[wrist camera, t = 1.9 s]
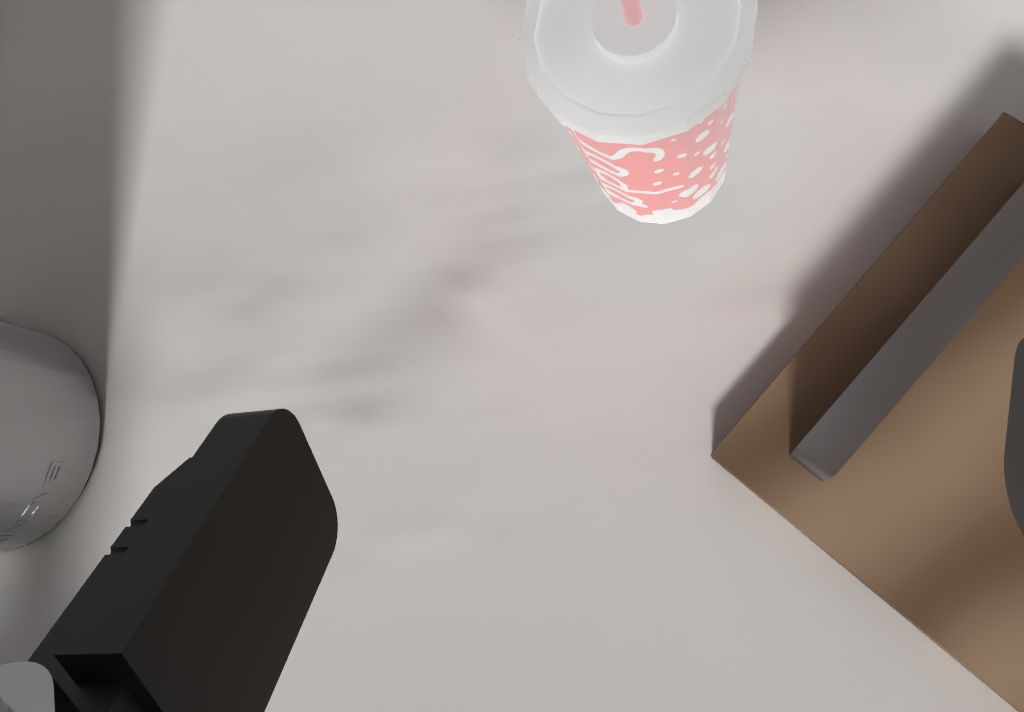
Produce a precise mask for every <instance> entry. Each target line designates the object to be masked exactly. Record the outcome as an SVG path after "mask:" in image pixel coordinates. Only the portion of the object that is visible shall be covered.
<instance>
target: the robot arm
mask: <svg viewBox="0 0 1024 712" xmlns="http://www.w3.org/2000/svg"><path fill="white" fill-rule="evenodd" d="M99 430H100V416H99V406H98V398H97V395H96V392H95V388H94V385H93V382H92V378H91V377H90V375H89V373H88V371H87V369H86V368H85V366H84V364H83V362H82V361H81V359H80V358H79V357H78V356H77V355H76V354H75V353H74V352H73V351H72V350H71V349H70V348H69V347H68V346H67V345H65V344H64V343H62V342H61V341H59V340H58V339H56V338H54V337H53V336H50V335H47V334H44V333H40V332H37V331H34V330H30V329H27V328H23V327H19V326H16V325H12V324H8V323H5V322H1V321H0V552H2V551H10V550H14V549H16V548H19V547H22V546H24V545H27V544H30V543H32V542H33V541H35V540H36V539H38V538H39V537H41V536H43V535H44V534H46V533H47V532H49V531H50V530H51V529H52V528H53V527H54V526H55V525H56V524H57V523H58V522H59V521H60V520H61V519H62V518H63V517H64V516H65V515H66V514H67V513H68V512H69V510H70V509H71V507H72V506H73V504H74V503H75V502H76V500H77V499H78V497H79V496H80V494H81V493H82V490H83V488H84V486H85V484H86V482H87V480H88V478H89V475H90V473H91V471H92V467H93V464H94V460H95V456H96V453H97V449H98V441H99ZM1004 476H1005V484H1006V490H1007V495H1008V499H1009V503H1010V506H1011V509H1012V512H1013V515H1014V517H1015V519H1016V522H1017V524H1018V526H1019V528H1020V530H1021V532H1022V534H1023V536H1024V338H1023V339H1022V340H1021V341H1020V342H1019V344H1018V346H1017V349H1016V353H1015V359H1014V367H1013V376H1012V386H1011V395H1010V404H1009V414H1008V423H1007V433H1006V442H1005V451H1004ZM130 521H131V526H130V527H125V528H124V530H123V531H122V533H121V534H120V535H119V537H118V538H117V539H116V541H115V542H114V543H113V545H112V546H111V554H110V555H105V556H104V557H103V559H102V560H101V561H100V563H99V564H98V565H97V567H96V568H95V570H94V571H93V572H92V574H91V575H90V576H89V578H88V579H87V581H86V582H85V583H84V585H83V586H82V587H81V589H80V590H79V592H78V593H77V594H76V596H75V597H74V598H73V600H72V601H71V602H70V604H69V605H68V607H67V608H66V609H65V611H64V612H63V613H62V615H61V616H60V618H59V619H58V620H57V622H56V623H55V624H54V626H53V627H52V629H51V630H50V631H49V633H48V634H47V635H46V637H45V638H44V640H43V641H42V642H41V644H40V645H39V646H38V648H37V649H36V651H35V652H34V653H33V655H32V656H31V657H30V659H29V660H28V661H19V662H11V663H6V664H2V665H0V712H264V711H265V709H266V707H267V704H268V702H269V700H270V698H271V695H272V693H273V691H274V688H275V686H276V684H277V681H278V679H279V677H280V674H281V672H282V670H283V667H284V665H285V663H286V661H287V658H288V656H289V654H290V651H291V649H292V647H293V644H294V642H295V640H296V637H297V635H298V633H299V630H300V628H301V626H302V624H303V621H304V619H305V617H306V614H307V612H308V610H309V607H310V605H311V603H312V600H313V598H314V596H315V593H316V591H317V589H318V586H319V584H320V582H321V580H322V577H323V575H324V573H325V570H326V568H327V566H328V563H329V561H330V559H331V556H332V554H333V551H334V549H335V545H336V540H337V531H338V521H337V513H336V508H335V504H334V501H333V498H332V496H331V494H330V491H329V489H328V487H327V485H326V482H325V480H324V478H323V476H322V473H321V471H320V469H319V467H318V464H317V462H316V460H315V458H314V455H313V453H312V451H311V449H310V446H309V444H308V442H307V440H306V437H305V435H304V433H303V431H302V428H301V426H300V424H299V422H298V420H297V419H296V417H295V416H294V415H293V414H292V413H291V412H290V411H288V410H286V409H275V410H265V411H254V412H244V413H234V414H227V415H225V416H223V417H222V418H220V419H219V421H218V422H217V423H216V424H215V426H214V427H213V429H212V430H211V432H210V433H209V434H208V436H207V437H206V439H205V440H204V441H203V443H202V444H201V446H200V447H199V449H198V450H197V451H196V453H195V454H194V456H193V457H192V458H189V459H188V460H186V461H185V462H184V463H183V464H182V465H180V466H179V467H178V468H177V469H176V470H175V471H173V472H172V473H171V474H170V475H169V476H167V477H166V478H165V479H164V480H163V481H161V482H160V483H159V484H158V485H157V486H155V487H154V489H153V490H152V491H151V493H150V494H149V495H148V497H147V498H146V500H145V501H144V502H143V504H142V505H141V506H140V508H139V509H138V511H137V512H136V513H135V515H134V516H133V517H132V519H131V520H130Z"/></svg>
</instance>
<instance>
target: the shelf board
mask: <svg viewBox="0 0 1024 712" xmlns="http://www.w3.org/2000/svg"><path fill="white" fill-rule="evenodd" d="M1023 338H1024V123H1022V122H1021V121H1019V120H1017V119H1016V118H1014V117H1012V116H1010V115H1009V114H1007V113H1005V112H1004V113H1003V114H1002V115H1001V116H1000V117H999V119H998V120H997V121H996V122H995V123H994V124H993V126H992V127H991V128H990V129H989V130H988V131H987V133H986V134H985V135H984V136H983V137H982V138H981V140H980V141H979V142H978V143H977V144H976V145H975V147H974V148H973V149H972V150H971V151H970V152H969V154H968V155H967V156H966V157H965V158H964V159H963V161H962V162H961V163H960V164H959V165H958V166H957V168H956V169H955V170H954V171H953V172H952V173H951V175H950V176H949V177H948V178H947V179H946V180H945V182H944V183H943V184H942V185H941V186H940V187H939V189H938V190H937V191H936V192H935V193H934V194H933V196H932V197H931V198H930V199H929V200H928V201H927V203H926V204H925V205H924V206H923V207H922V208H921V210H920V211H919V212H918V213H917V214H916V215H915V217H914V218H913V219H912V220H911V221H910V222H909V224H908V225H907V226H906V227H905V228H904V229H903V231H902V232H901V233H900V234H899V235H898V236H897V238H896V239H895V240H894V241H893V242H892V243H891V245H890V246H889V247H888V248H887V249H886V250H885V252H884V253H883V254H882V255H881V256H880V257H879V259H878V260H877V261H876V262H875V263H874V264H873V266H872V267H871V268H870V269H869V270H868V271H867V273H866V274H865V275H864V276H863V277H862V278H861V280H860V281H859V282H858V283H857V284H856V285H855V287H854V288H853V289H852V290H851V291H850V292H849V294H848V295H847V296H846V297H845V298H844V299H843V301H842V302H841V303H840V304H839V305H838V306H837V308H836V309H835V310H834V311H833V312H832V313H831V315H830V316H829V317H828V318H827V319H826V320H825V322H824V323H823V324H822V325H821V326H820V327H819V329H818V330H817V331H816V332H815V333H814V334H813V336H812V337H811V338H810V339H809V340H808V341H807V343H806V344H805V345H804V346H803V347H802V348H801V350H800V351H799V352H798V353H797V354H796V355H795V357H794V358H793V359H792V360H791V361H790V362H789V363H788V365H787V366H786V367H785V368H784V369H783V370H782V372H781V373H780V374H779V375H778V376H777V377H776V379H775V380H774V381H773V382H772V383H771V384H770V386H769V387H768V388H767V389H766V390H765V391H764V393H763V394H762V395H761V396H760V397H759V398H758V400H757V401H756V402H755V403H754V404H753V405H752V407H751V408H750V409H749V410H748V411H747V412H746V414H745V415H744V416H743V417H742V418H741V419H740V421H739V422H738V423H737V424H736V425H735V426H734V428H733V429H732V430H731V431H730V432H729V433H728V435H727V436H726V437H725V438H724V439H723V440H722V442H721V443H720V444H719V445H718V446H717V447H716V449H715V450H714V451H713V452H712V453H711V457H712V458H713V459H714V460H715V461H716V462H717V463H719V464H720V465H721V466H722V467H723V468H725V469H726V470H727V471H728V472H729V473H731V474H732V475H733V476H734V477H736V478H737V479H738V480H739V481H740V482H742V483H743V484H744V485H745V486H746V487H748V488H749V489H750V490H751V491H752V492H754V493H755V494H756V495H757V496H758V497H760V498H761V499H762V500H763V501H765V502H766V503H767V504H768V505H769V506H771V507H772V508H773V509H774V510H775V511H777V512H778V513H779V514H780V515H781V516H783V517H784V518H785V519H786V520H787V521H789V522H790V523H791V524H792V525H794V526H795V527H796V528H797V529H798V530H800V531H801V532H802V533H803V534H804V535H806V536H807V537H808V538H809V539H810V540H812V541H813V542H814V543H815V544H816V545H818V546H819V547H820V548H821V549H822V550H824V551H825V552H826V553H827V554H829V555H830V556H831V557H832V558H833V559H835V560H836V561H837V562H838V563H839V564H841V565H842V566H843V567H844V568H845V569H847V570H848V571H849V572H850V573H851V574H853V575H854V576H855V577H856V578H858V579H859V580H860V581H861V582H862V583H864V584H865V585H866V586H867V587H868V588H870V589H871V590H872V591H873V592H874V593H876V594H877V595H878V596H879V597H880V598H882V599H883V600H884V601H885V602H887V603H888V604H889V605H890V606H891V607H893V608H894V609H895V610H896V611H897V612H899V613H900V614H901V615H902V616H903V617H905V618H906V619H907V620H908V621H909V622H911V623H912V624H913V625H914V626H916V627H917V628H918V629H919V630H920V631H922V632H923V633H924V634H925V635H926V636H928V637H929V638H930V639H931V640H932V641H934V642H935V643H936V644H937V645H938V646H940V647H941V648H942V649H943V650H945V651H946V652H947V653H948V654H949V655H951V656H952V657H953V658H954V659H955V660H957V661H958V662H959V663H960V664H961V665H963V666H964V667H965V668H966V669H967V670H969V671H970V672H971V673H972V674H974V675H975V676H976V677H977V678H978V679H980V680H981V681H982V682H983V683H984V684H986V685H987V686H988V687H989V688H990V689H992V690H993V691H994V692H995V693H996V694H998V695H999V696H1000V697H1001V698H1003V699H1004V700H1005V701H1006V702H1007V703H1009V704H1010V705H1011V706H1012V707H1013V708H1015V709H1016V710H1017V711H1018V712H1024V536H1023V534H1022V532H1021V530H1020V528H1019V526H1018V524H1017V522H1016V519H1015V517H1014V515H1013V512H1012V509H1011V506H1010V503H1009V499H1008V495H1007V490H1006V484H1005V476H1004V451H1005V442H1006V433H1007V423H1008V414H1009V404H1010V395H1011V386H1012V376H1013V367H1014V359H1015V353H1016V349H1017V346H1018V344H1019V342H1020V341H1021V340H1022V339H1023Z"/></svg>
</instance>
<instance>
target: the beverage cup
mask: <svg viewBox="0 0 1024 712" xmlns="http://www.w3.org/2000/svg"><path fill="white" fill-rule="evenodd" d="M757 11H758V2H757V0H527V2H526V7H525V13H524V18H523V23H522V28H521V33H520V38H519V41H520V45H521V50H522V54H523V58H524V63H525V67H526V71H527V75H528V79H529V81H530V84H531V85H532V86H533V88H534V89H535V91H536V94H537V95H538V96H539V97H540V99H541V100H542V101H543V102H544V104H545V105H546V106H547V107H548V109H549V110H550V111H551V112H552V114H553V115H554V116H555V117H556V119H557V120H558V121H559V122H560V124H562V125H564V126H566V128H567V130H568V131H569V133H570V135H571V137H572V138H573V140H574V142H575V144H576V145H577V147H578V149H579V150H580V152H581V154H582V156H583V157H584V159H585V161H586V163H587V164H588V166H589V168H590V170H591V171H592V173H593V175H594V176H595V178H596V180H597V182H598V183H599V185H600V187H601V189H602V190H603V192H604V193H605V195H606V196H607V197H608V198H609V200H610V201H611V202H612V203H613V205H614V206H615V207H616V208H617V210H618V211H620V212H622V213H624V214H626V215H628V216H630V217H632V218H634V219H635V220H637V221H639V222H649V223H660V224H666V223H670V222H673V221H677V220H680V219H684V218H687V217H690V216H692V215H693V214H694V213H696V212H697V211H698V210H700V209H701V208H702V207H704V206H705V205H706V204H708V203H709V202H710V201H711V200H712V199H713V197H714V195H715V194H716V192H717V190H718V189H719V187H720V186H721V184H722V182H723V181H724V178H725V171H726V165H727V158H728V151H729V144H730V136H731V129H732V122H733V115H734V107H735V100H736V93H737V86H738V82H739V80H740V78H741V77H742V75H743V74H744V72H745V70H746V69H747V67H748V66H749V64H750V58H751V51H752V44H753V38H754V31H755V24H756V18H757Z"/></svg>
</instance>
